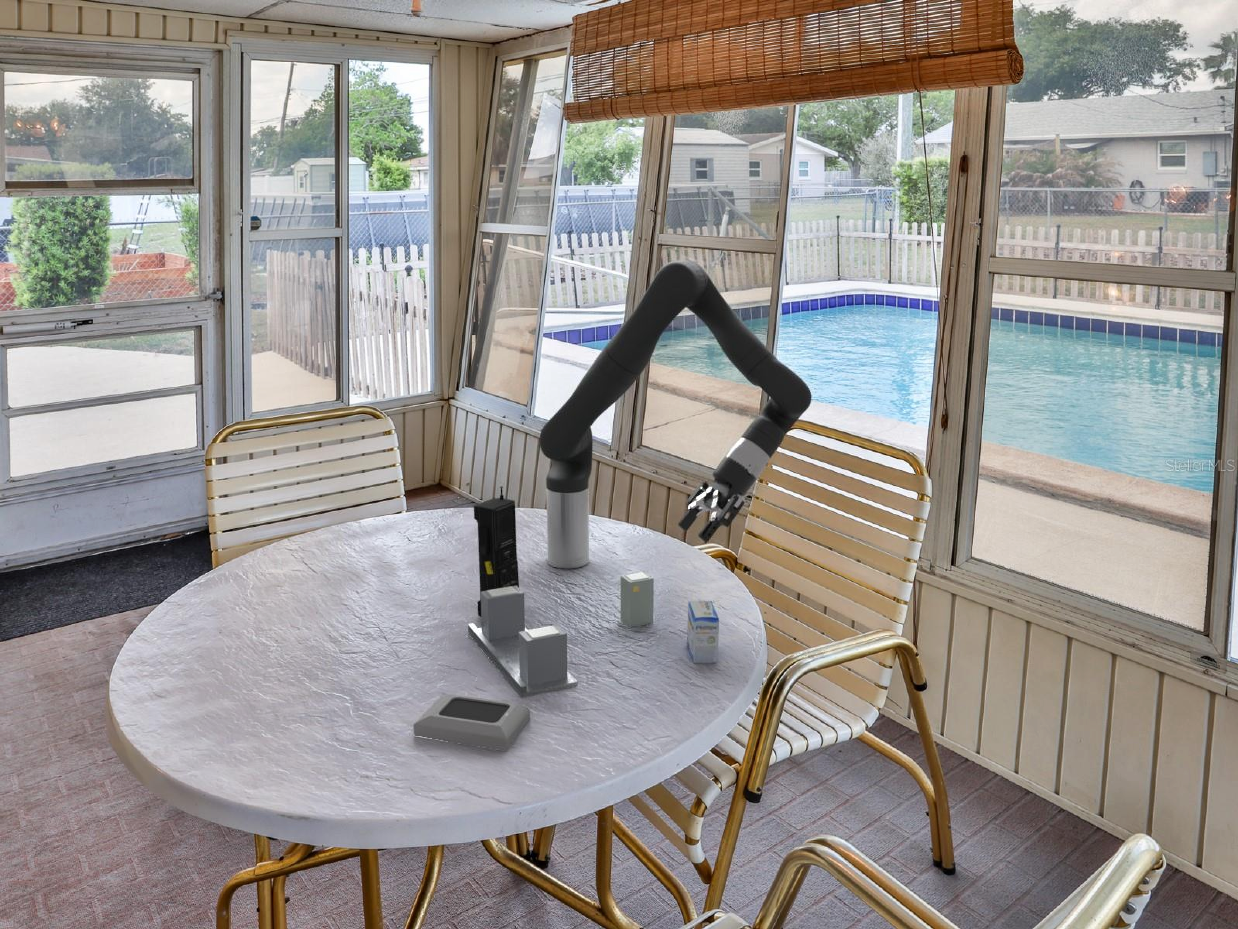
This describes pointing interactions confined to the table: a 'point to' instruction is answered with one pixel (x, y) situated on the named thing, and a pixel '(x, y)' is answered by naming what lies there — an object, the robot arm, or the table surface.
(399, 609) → the table surface
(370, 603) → the table surface
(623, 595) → the block
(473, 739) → the grey flat block
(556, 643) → the mounted modules
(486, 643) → the rail
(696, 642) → the medicine box
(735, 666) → the table surface
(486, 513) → the portable radio
